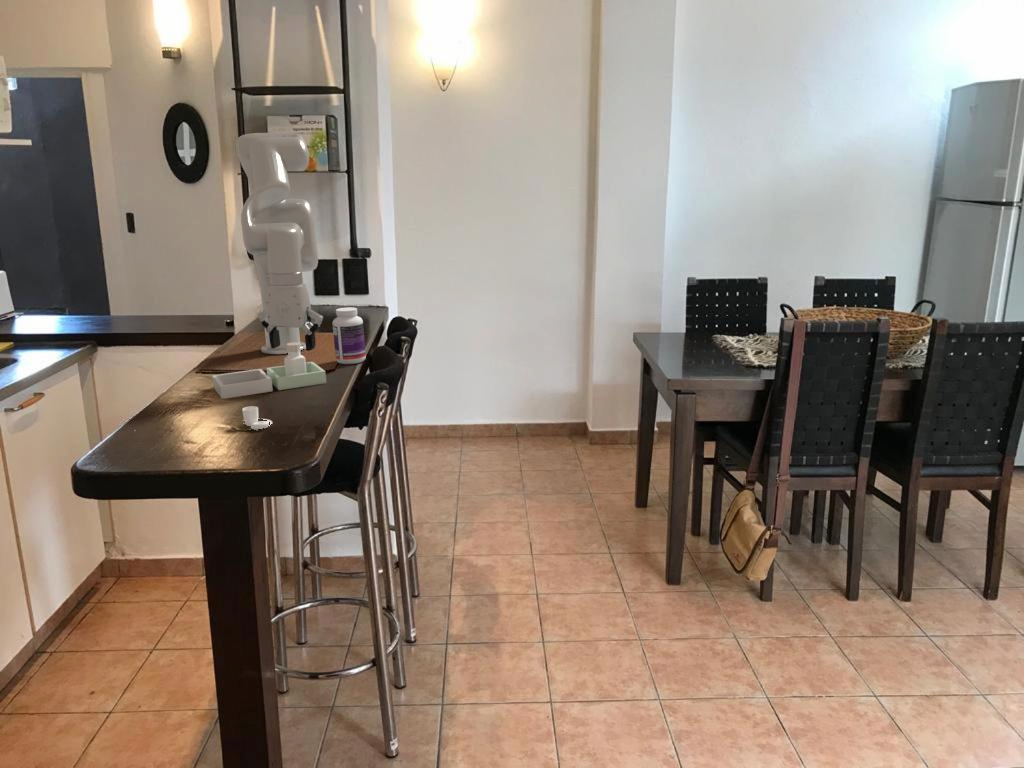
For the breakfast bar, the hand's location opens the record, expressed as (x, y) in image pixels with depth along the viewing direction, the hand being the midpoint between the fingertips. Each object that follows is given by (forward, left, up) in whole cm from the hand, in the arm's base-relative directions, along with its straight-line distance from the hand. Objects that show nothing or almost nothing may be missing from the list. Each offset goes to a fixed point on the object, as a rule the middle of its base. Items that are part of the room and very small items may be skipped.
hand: (293, 348), depth 199 cm
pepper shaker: (+1, 0, -8) cm, 8 cm away
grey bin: (+1, -13, -8) cm, 16 cm away
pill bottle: (-11, +18, -9) cm, 23 cm away
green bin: (+1, 0, -8) cm, 8 cm away
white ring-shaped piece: (+33, -19, -9) cm, 39 cm away
